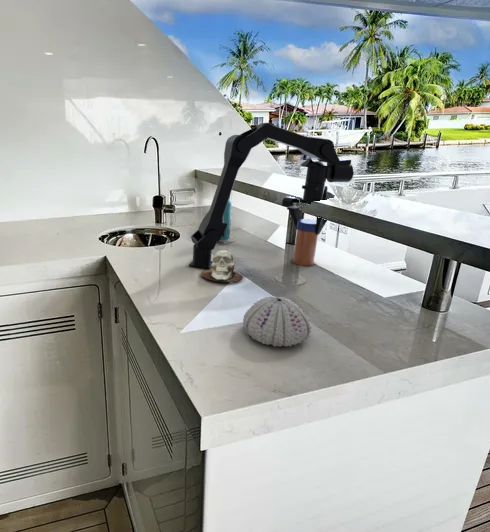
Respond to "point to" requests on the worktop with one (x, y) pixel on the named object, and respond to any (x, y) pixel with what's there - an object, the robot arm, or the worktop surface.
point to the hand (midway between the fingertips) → (307, 232)
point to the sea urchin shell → (276, 322)
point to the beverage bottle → (227, 220)
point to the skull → (222, 268)
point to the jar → (305, 247)
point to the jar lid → (306, 225)
